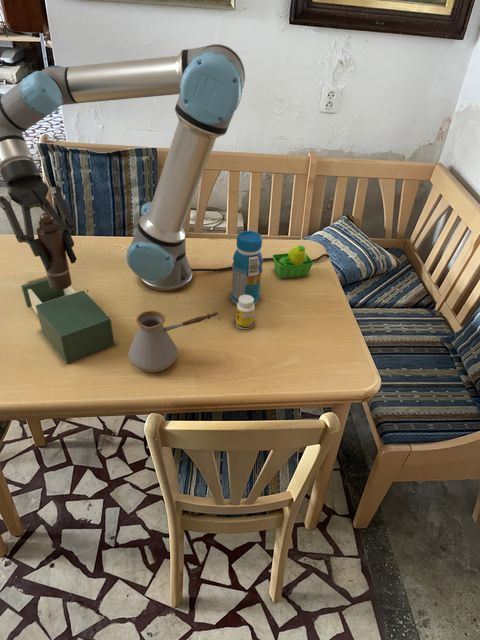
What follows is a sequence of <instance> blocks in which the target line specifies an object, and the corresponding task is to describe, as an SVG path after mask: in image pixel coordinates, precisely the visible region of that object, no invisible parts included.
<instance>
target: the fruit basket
mask: <svg viewBox="0 0 480 640" xmlns="http://www.w3.org/2000/svg"><path fill="white" fill-rule="evenodd" d="M272 258H273V260H272V261H273V265H274V271H275V272H276V274H277V275H278V276H279V277H280V279H287V278H289V279H290V278H297V277H298V278H299V277H305V276H307V275H308V273H309V271H310V270H311V267H313V265H314V262H313V261H312V260H313V259H312V258H311V257H310V256H309V255H308V254H307V253H306V247H305V246H303V245H301V244H299V245H297V246H294V247H291V248H290V249H289V250H288V252H286V253H278V254H277V253H276V254H272Z"/></svg>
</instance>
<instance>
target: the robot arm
mask: <svg viewBox="0 0 480 640" xmlns="http://www.w3.org/2000/svg"><path fill="white" fill-rule="evenodd" d="M245 80H246V72H245V67H244V64H243V61H242V59H241V57H240V56H239V54H238V53H237V52H236V51H235V50H233V49H232V48H231V47H229V46H227V45H224V44H220V43H219V44H218V43H214V44H208V45H205V46H201V47H195V48H186V49H181V50H180V52H179V53H178V54H177V55H173V56H172V55H171V56H163V57H161V56H160V57H153V58H143V59H133V60H132V59H131V60H122V61H113V62H101V63H93V64H83V65H81V64H80V65H72V66H71V65H70V66H62V65H56V64H55V65H50V66H46V67H44V68H43V69H42V70H36V71H34V72H32V73H31V74H28V75H26V76H24V77H23V78H22V79H21V80H20V81H19V82H18V83H17V84H15V85H14V86H13V87H12V88H10V89H9V90H8V91H6V92H5V93H4V94H2V93H1V92H0V176H1V177H2V179H3V182H4V184H5V186H6V188H7V194H6V195H0V208H1V209H2V210H3V211H4V213H5V215H6V218H7V220H8V222H9V224H10V227H11V229H12V231H13V234H14V236H15V238H16V241H17V242H18V243H20V244H21V243H26V244H27V245H28V246H29V247H30V250H31V252H32V254H33V256H34V257H35V258H37V257H39V259H40V260H41V262H42V264H43V267H44V270H45V269H46V270H45V272H46V271H47V270H50V268H51V264H50V262H49V260H48V258H47V255H46V253H45V251H44V249H43V247H42V244H41V242H40V240H39V238H38V237H37V238H35V233H34V228H33V227H34V226H33V220H32V214H31V209H33V208H40V209H41V210H42V211H43V213H48V214H50V215H51V216H52V217H53V219H54V220H55V221H56V225H57V226H59V227H60V228H61V231H62V236H63V241H64V246H65V251H66V256H67V258H68V260H69V263H70V264H76V261H77V260H78V259H77V256H76V255H75V252H74V250H73V248H74V246H75V242H74V241H75V240H73V237H72V235H71V233H70V232H71V231H74V228H75V227H76V223H75V221H74V218H73V216H72V214H71V212H70V210H69V208H68V206H67V204H66V201H65V200H64V196H63V191H62V187H61V186H60V185H56V186H49V185H48V184H47V183H45V181H44V179H43V178H42V175H41V173H40V171H39V168H38V166H37V163H36V162H35V160H34V157H33V155H32V153H31V151H30V149H29V147H28V144H27V142H26V139H25V137H24V135H23V133H24V132H26V131H27V130H29V129H30V128H32V127H33V126H34V125H35V124H37V123H40V121H42V120H43V119H45V118H46V117H48V116H49V115H52V114H53V113H54V112H55V111H57V109H58V108H60V107H61V106H65V105H76V104H84V103H85V104H86V103H96V102H107V101H108V102H109V101H118V100H129V99H140V98H153V97H164V96H174V95H178V98H177V100H176V104H175V107H174V112H175V114H176V117H177V120H178V122H177V125H176V128H175V130H174V131H175V132H174V133H173V137H172V140H171V143H170V146H169V149H168V152H167V156H166V159H165V162H164V165H163V168H162V171H161V172H160V173H161V174H160V176H159V180H158V183H157V186H156V189H155V191H154V195H153V198H152V201H148V202H146V203H144V204H143V205H142V206H141V211H140V215H141V216H140V217H139V220H138V222H137V226H136V229H135V232H134V235H133V238H132V241H131V244H130V245H129V247H127V251H126V263H127V265H128V267H129V269H131V271H132V273H134V274H135V275H136V276H138V277H139V279H140V283H141V284H142V285H143V286H144V287H146V288H147V289H149V290H152V291H155V292H160V293H170V292H171V293H173V292H177V291H180V290H183V289H185V288H187V287H188V286H189V285H190V284H191V283H192V280H193V272H222V271H228V270H232V265H231V266H226V267H221V268H191V265H190V263H189V260H188V257H187V254H186V253H187V252H186V251H187V250H186V218H187V216H188V213H189V210H190V207H191V205H192V202H193V199H194V198H195V194H196V192H197V190H198V187H199V185H200V181H201V179H202V176H203V174H204V172H205V169H206V167H207V163H208V161H209V158H210V156H211V153H212V151H213V148H214V145H215V142H216V140H217V138H219V137H223V136H225V135H226V134H227V131H228V129H229V126H230V124H231V121H232V119H233V117H234V115H235V111H236V110H237V109H238V107H239V105H240V103H241V100H242V95H243V89H244V87H245V82H246V81H245ZM48 193H49V194H50V197H52V198H54V202H55V204H56V207H57V208H58V211H59V213H60V215H61V216H60V215H59V214H58V212H57V211H56V210H55V208H53V207H52V205H51V203H50V201H49V200H48V198H47V196H48ZM12 201H13V202H14V203H16V204H17V205H18V206H20V207H21V213H22V218H23V223H24V229H25V234H24V232H23V229H22V226H21V225H20V222H19V220H18V217H17V216H16V213H15V210H14V208H13V207H12ZM61 217H62V218H61ZM325 257H327V258H331V256H330V254H329V253H322V254H321V255H320V256H318V257H317V258H314V259H311V260H312V261H313V263H314V262H317V261H319V260H321V259H322V258H325ZM266 261H274V260H273V257H263V262H266Z"/></svg>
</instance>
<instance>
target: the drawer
mask: <svg viewBox="0 0 480 640" xmlns="http://www.w3.org/2000/svg"><path fill="white" fill-rule="evenodd" d="M20 288H21V292H22V295H23V298H24V302H25V306H26V307H27V308H32V310H33V311H34V312H35V313H36V315H37V316H38V313H37V309H36V305H38V304H42V303H45V302H48V301H51V300H54V299H58V298H61V297H64V296H67V295H70V294H73V293H77V292H78V291H76V290H75V289H74V288H73V287H72V285H71V286H70V287H68V288H66V289H62V290H55V289H52V288H51V287H50V286H49V282H48V278H47V275H45V276H41V277H37V278H34V279H30V280H27V281H26V283H23V284H21V285H20Z"/></svg>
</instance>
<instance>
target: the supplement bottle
mask: <svg viewBox="0 0 480 640" xmlns="http://www.w3.org/2000/svg"><path fill="white" fill-rule="evenodd" d="M255 310H256V309H255V304H254V298H253V297H252V296H250V295H241V296H240V297H239V300H238V304H236V312H235V313H236V314H235V325H236V327H237V328H238V329H242V330H249V329H251V328H252V327H253V326H254V320H255V319H254V318H255Z"/></svg>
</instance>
